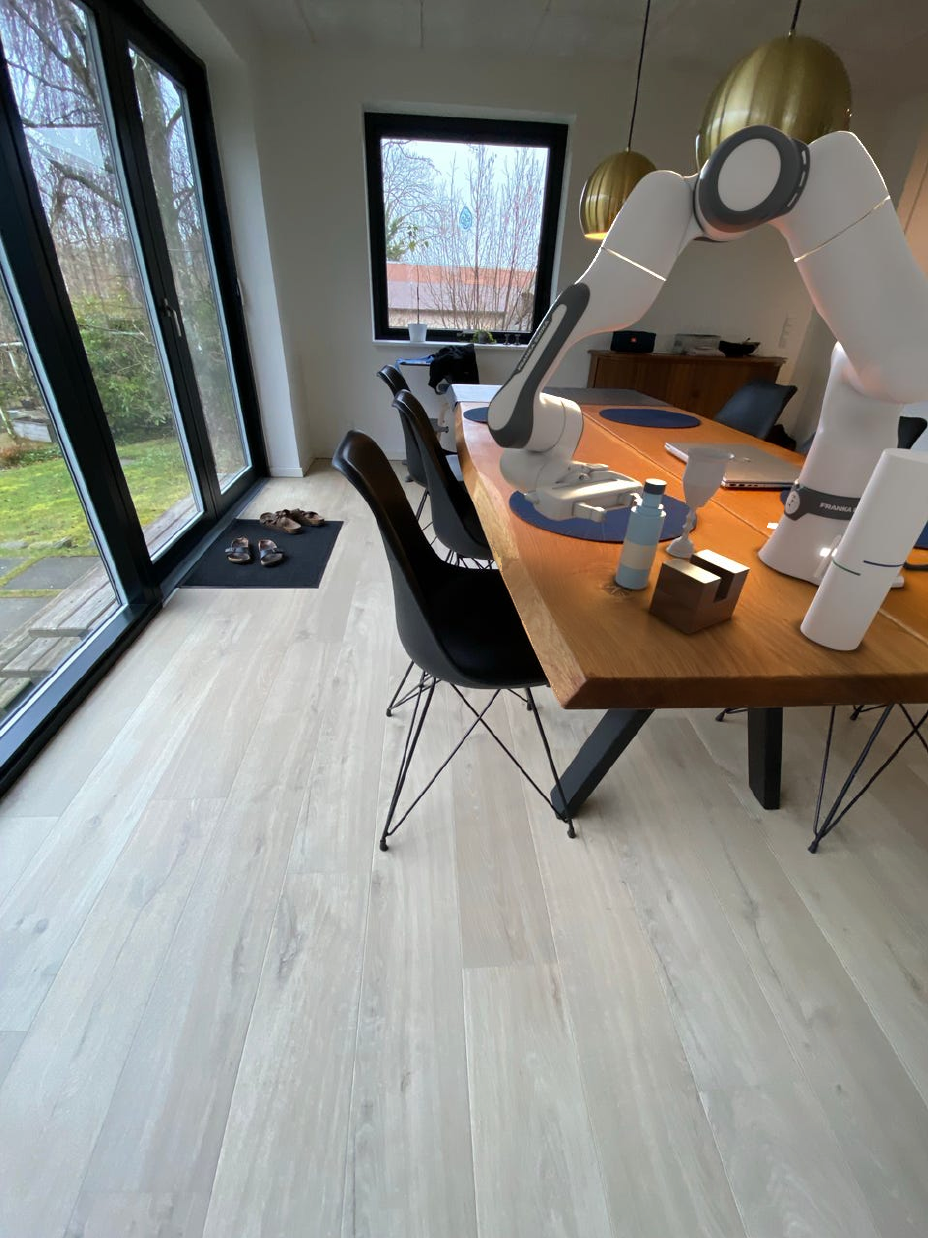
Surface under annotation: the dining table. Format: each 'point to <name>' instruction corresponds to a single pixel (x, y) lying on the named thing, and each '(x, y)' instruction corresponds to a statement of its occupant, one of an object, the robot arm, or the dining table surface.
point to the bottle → (642, 537)
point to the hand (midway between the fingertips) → (624, 512)
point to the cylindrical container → (871, 550)
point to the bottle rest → (697, 591)
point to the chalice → (699, 490)
